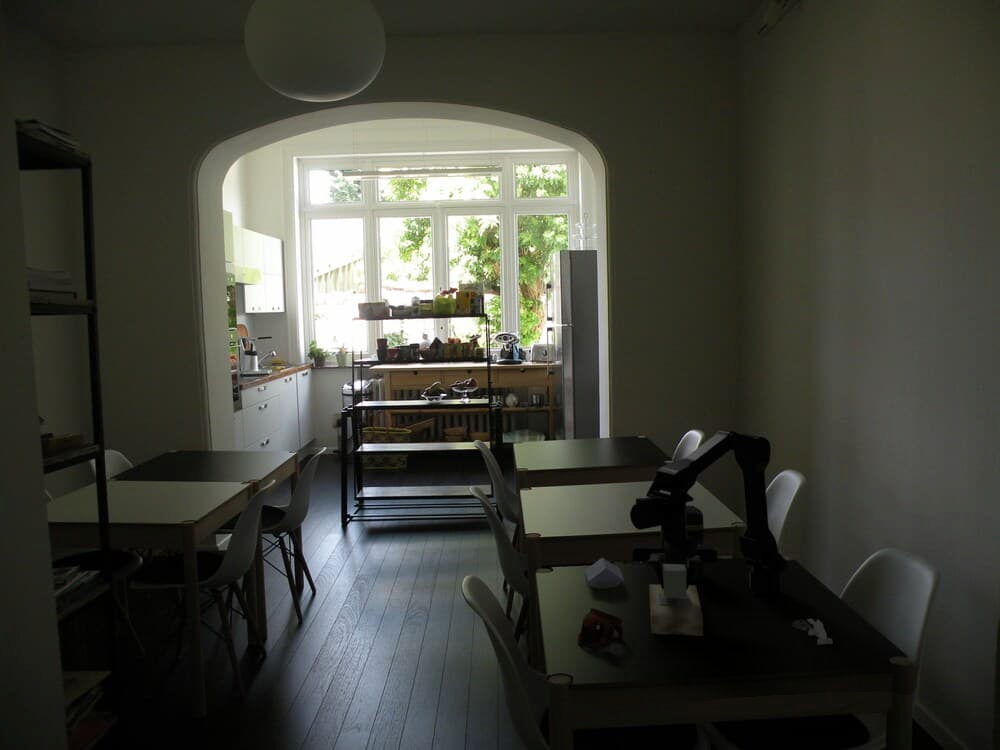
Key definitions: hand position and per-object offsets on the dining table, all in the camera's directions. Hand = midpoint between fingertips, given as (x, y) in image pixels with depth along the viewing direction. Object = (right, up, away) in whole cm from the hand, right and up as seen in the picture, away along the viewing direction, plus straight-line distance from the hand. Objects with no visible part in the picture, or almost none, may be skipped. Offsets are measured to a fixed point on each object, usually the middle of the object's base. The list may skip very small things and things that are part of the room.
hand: (674, 588), depth 183 cm
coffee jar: (+10, -4, +27) cm, 29 cm away
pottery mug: (-18, -9, -12) cm, 24 cm away
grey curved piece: (+28, -7, -10) cm, 30 cm away
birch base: (0, -7, +1) cm, 7 cm away
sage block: (0, -1, 0) cm, 1 cm away
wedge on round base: (-13, -6, +23) cm, 27 cm away
